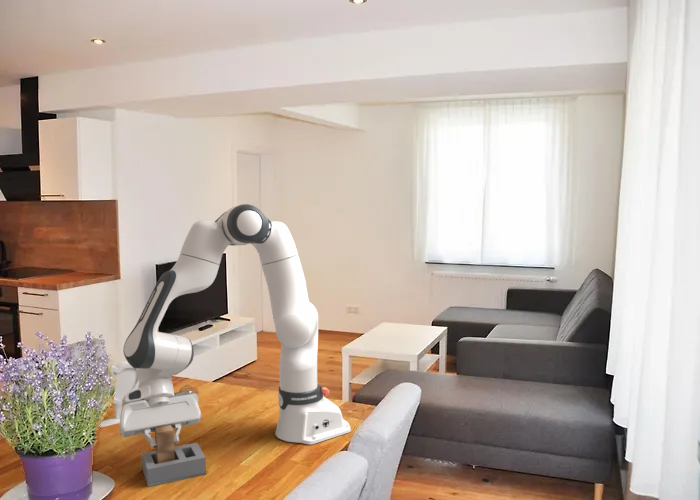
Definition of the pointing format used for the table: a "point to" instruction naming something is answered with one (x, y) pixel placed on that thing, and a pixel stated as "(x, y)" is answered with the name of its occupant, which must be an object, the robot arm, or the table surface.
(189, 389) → the pastry
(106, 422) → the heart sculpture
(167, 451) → the walnut peg
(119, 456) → the table surface
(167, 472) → the caddy
